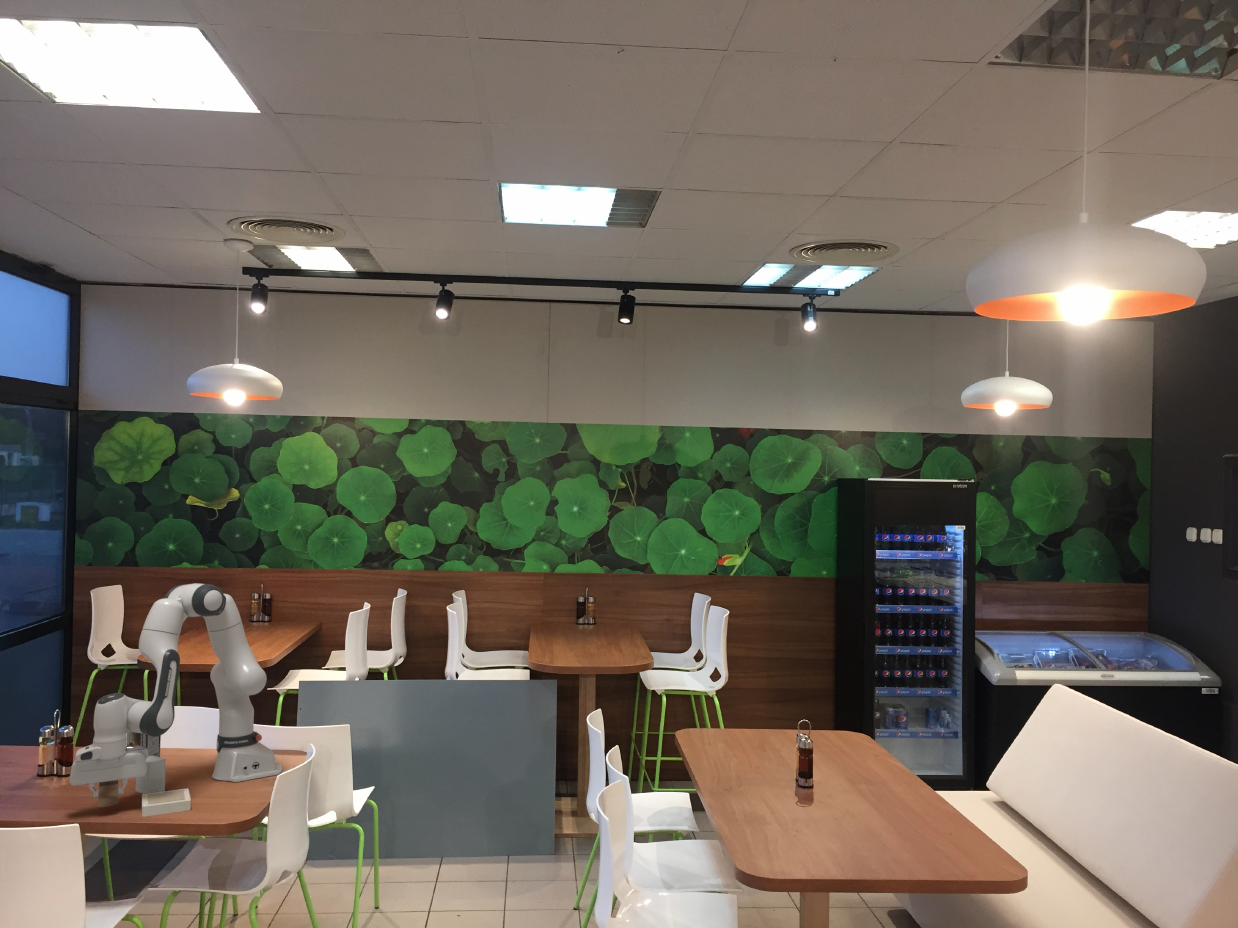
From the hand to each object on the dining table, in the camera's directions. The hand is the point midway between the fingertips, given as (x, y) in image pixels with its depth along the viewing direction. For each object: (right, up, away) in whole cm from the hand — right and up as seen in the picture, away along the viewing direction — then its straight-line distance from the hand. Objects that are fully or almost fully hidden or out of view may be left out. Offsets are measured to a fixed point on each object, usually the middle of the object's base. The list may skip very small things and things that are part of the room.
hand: (108, 795), depth 263 cm
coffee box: (-10, -7, +37) cm, 40 cm away
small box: (+2, -7, +20) cm, 21 cm away
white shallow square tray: (+15, -6, +6) cm, 17 cm away
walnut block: (0, -2, 0) cm, 2 cm away
